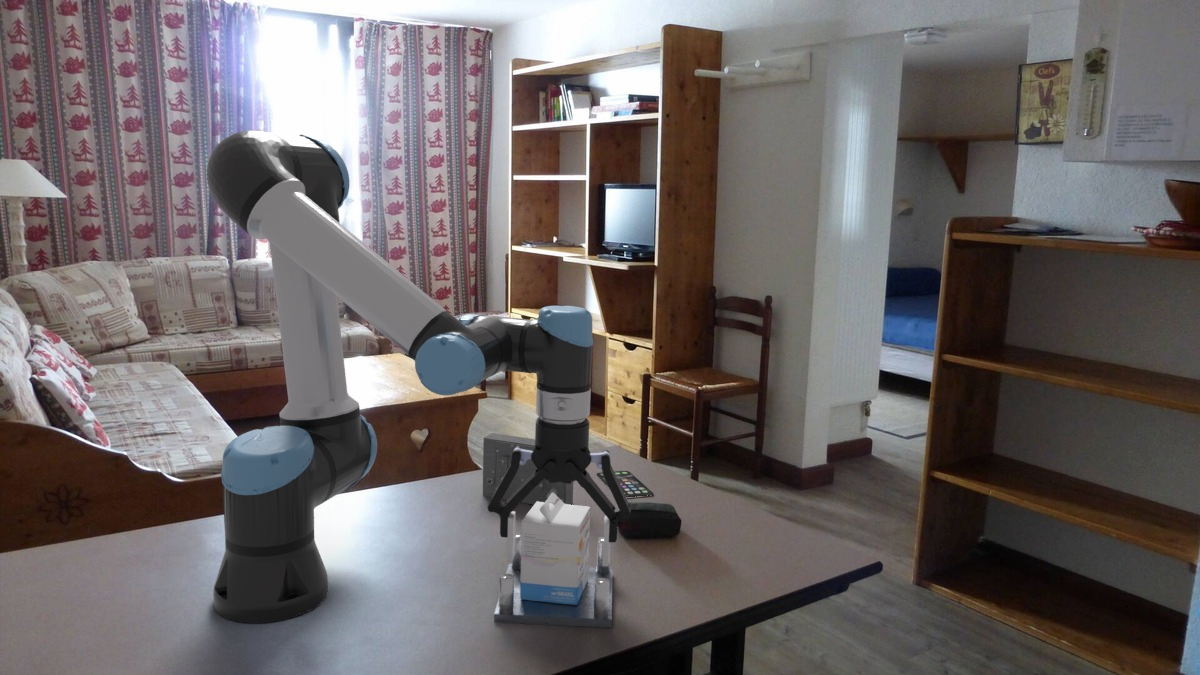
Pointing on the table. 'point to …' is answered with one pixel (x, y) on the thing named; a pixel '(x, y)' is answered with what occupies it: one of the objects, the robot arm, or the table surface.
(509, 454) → the electronic device
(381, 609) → the table surface
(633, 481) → the smartphone
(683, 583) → the table surface
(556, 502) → the ink box
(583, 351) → the robot arm
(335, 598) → the table surface
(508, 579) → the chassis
